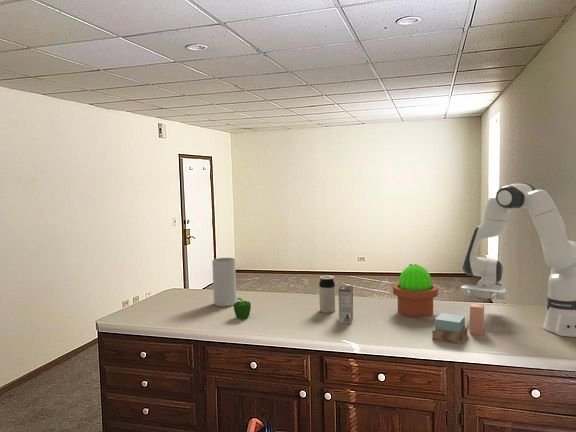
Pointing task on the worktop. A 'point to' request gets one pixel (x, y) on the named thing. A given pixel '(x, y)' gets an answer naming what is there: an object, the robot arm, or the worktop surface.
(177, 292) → the worktop surface
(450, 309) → the worktop surface
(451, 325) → the grey-teal top block
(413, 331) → the worktop surface
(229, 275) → the cylinder vase
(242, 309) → the bell pepper
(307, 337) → the worktop surface
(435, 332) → the walnut base block
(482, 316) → the terracotta tall block
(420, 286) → the potted cactus
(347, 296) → the coffee box
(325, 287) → the travel mug
